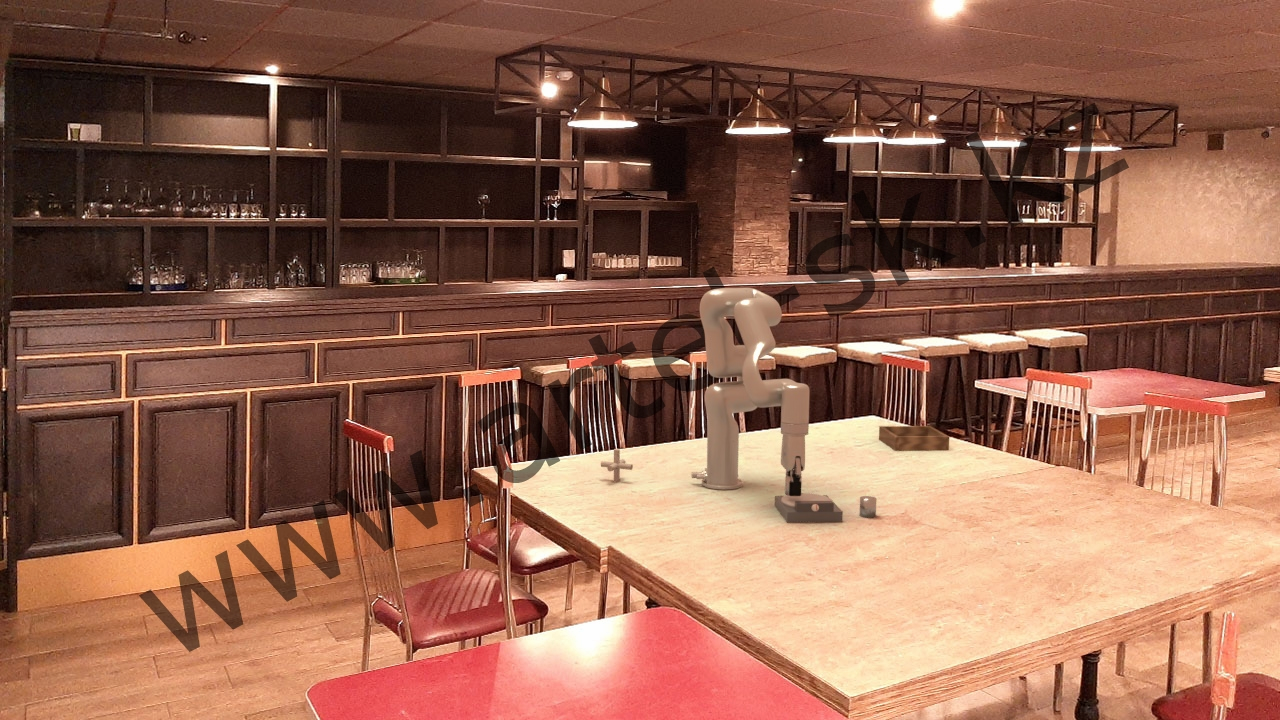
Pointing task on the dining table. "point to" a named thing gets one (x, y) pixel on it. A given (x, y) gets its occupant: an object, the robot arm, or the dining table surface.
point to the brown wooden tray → (913, 438)
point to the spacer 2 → (867, 507)
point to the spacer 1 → (788, 478)
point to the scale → (808, 508)
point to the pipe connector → (616, 465)
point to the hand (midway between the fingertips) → (793, 492)
